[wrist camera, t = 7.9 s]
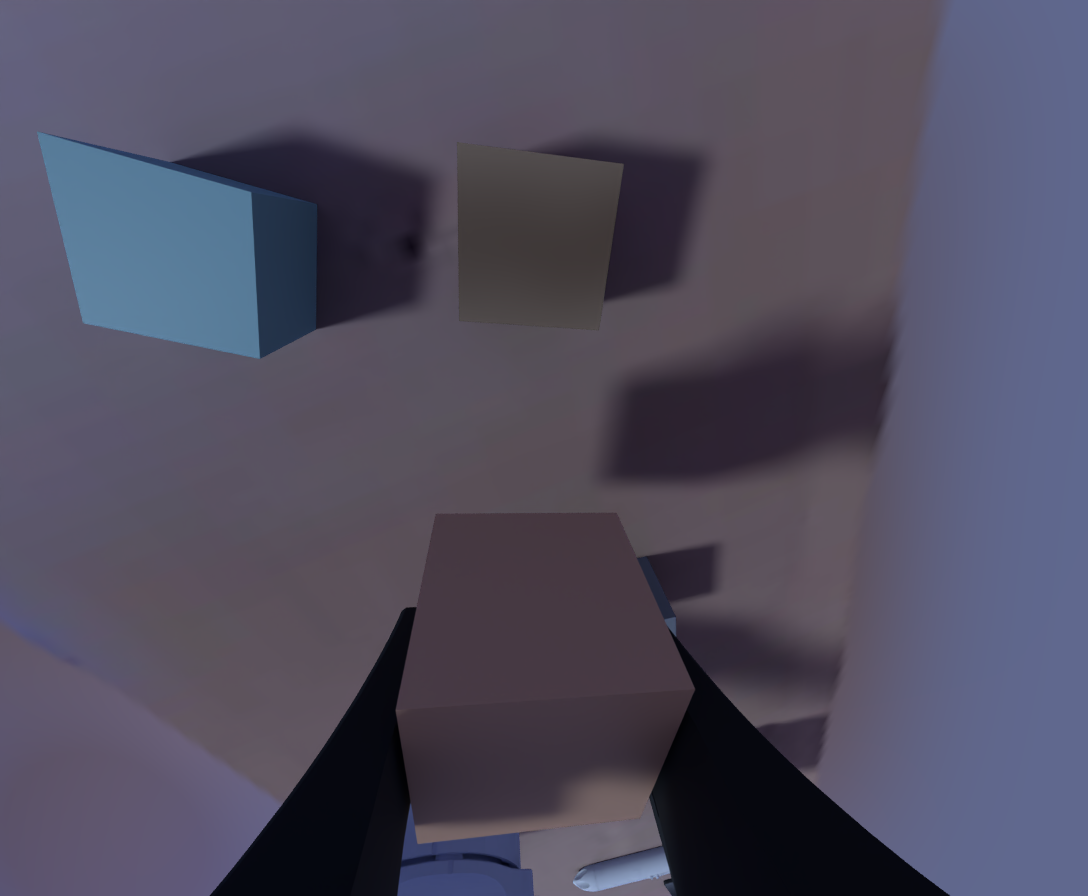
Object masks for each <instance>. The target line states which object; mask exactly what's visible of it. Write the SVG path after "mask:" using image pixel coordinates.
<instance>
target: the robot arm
mask: <svg viewBox="0 0 1088 896" xmlns="http://www.w3.org/2000/svg"><path fill="white" fill-rule="evenodd" d="M416 608H417V607H410V608H405V609H404V610H402V612H401V614H400V616H399V619H398V621H397V623H396V625H395V627H394V629H393V631H392V633H391V635H390V637H389V639H388V641H387V643H386V645H385V647H384V649H383V651H382V652H381V654H380V656H379V658H378V660H377V662H376V663H375V665H374V667H373V669H372V670H371V672H370V674H369V675H368V677H367V679H366V681H365V682H364V684H363V686H362V687H361V689H360V691H359V693H358V694H357V696H356V698H355V699H354V701H353V702H352V704H351V706H350V707H349V709H348V710H347V712H346V713H345V715H344V716H343V718H342V719H341V721H340V723H339V724H338V726H337V727H336V729H335V730H334V732H333V733H332V735H331V736H330V738H329V739H328V741H327V743H326V744H325V745H324V747H323V748H322V750H321V751H320V753H319V754H318V756H317V757H316V759H315V760H314V761H313V763H312V764H311V766H310V767H309V769H308V770H307V771H306V773H305V774H304V776H303V777H302V778H301V780H300V781H299V782H298V784H297V785H296V787H295V788H294V789H293V791H292V792H291V793H290V795H289V796H288V798H287V799H286V800H285V802H284V803H283V804H282V806H281V807H280V808H279V810H278V811H277V812H276V813H275V815H274V816H273V817H272V819H271V820H270V821H269V822H268V824H267V825H266V826H265V828H264V829H263V830H262V832H261V833H260V834H259V836H258V837H257V838H256V839H255V841H254V842H253V843H252V845H251V846H250V847H249V848H248V850H247V851H246V852H245V853H244V855H243V856H242V857H241V859H240V860H239V861H238V862H237V863H236V865H235V866H234V867H233V868H232V870H231V871H230V872H229V873H228V875H227V876H226V877H225V878H224V879H223V881H222V882H221V883H220V884H219V886H217V888H216V889H215V890H214V891H213V892H212V894H211V895H210V896H534V891H533V875H532V870H531V869H521V863H520V840H519V832H518V833H510V834H501V835H492V836H484V837H475V838H466V839H458V840H449V841H440V842H432V843H423V844H417V838H416V832H415V825H414V819H413V813H412V807H411V801H410V795H409V789H408V783H407V777H406V770H405V764H404V758H403V752H402V746H401V740H400V734H399V728H398V722H397V716H396V706H397V701H398V696H399V691H400V686H401V682H402V677H403V672H404V667H405V662H406V657H407V652H408V647H409V643H410V638H411V633H412V628H413V623H414V618H415V613H416ZM667 627H668V626H667ZM668 629H669V627H668ZM669 631H670V634H671V636H672V638H673V640H674V643H675V645H676V647H677V649H678V652H679V654H680V656H681V658H682V661H683V663H684V665H685V667H686V670H687V672H688V674H689V676H690V679H691V681H692V683H693V685H694V688H695V691H694V693H693V695H692V698H691V700H690V703H689V705H688V707H687V710H686V712H685V714H684V717H683V719H682V721H681V724H680V726H679V728H678V731H677V733H676V735H675V738H674V740H673V742H672V745H671V747H670V749H669V752H668V754H667V757H666V759H665V761H664V764H663V766H662V768H661V771H660V773H659V775H658V778H657V780H656V782H655V785H654V787H653V789H652V792H653V796H654V799H655V803H656V806H657V810H658V814H659V818H660V823H661V827H662V831H663V835H664V840H665V844H666V848H667V853H668V857H669V861H670V866H671V870H672V875H673V880H674V884H675V889H676V893H677V896H950V895H948V894H947V893H946V892H944V891H943V890H942V889H940V888H939V887H938V886H936V885H935V884H934V883H932V882H931V881H930V880H928V879H927V878H926V877H924V876H923V875H922V874H920V873H919V872H918V871H917V870H915V869H914V868H912V867H911V866H910V865H909V864H908V863H906V862H905V861H904V860H903V859H901V858H900V857H899V856H898V855H896V854H895V853H894V852H893V851H892V850H890V849H889V848H888V847H886V846H885V845H884V844H883V843H882V842H880V841H879V840H878V839H877V838H876V837H874V836H873V835H872V834H871V833H869V832H868V831H867V830H866V829H864V828H863V827H862V826H861V825H860V824H859V823H858V822H857V821H855V820H854V819H853V818H852V817H851V816H850V815H849V814H847V813H846V812H845V811H844V810H843V809H842V808H840V807H839V806H838V805H837V804H836V803H835V802H833V801H832V800H831V799H830V798H829V797H828V796H827V795H825V794H824V793H823V792H822V791H821V790H820V789H819V788H817V787H816V786H815V785H814V784H813V783H812V782H811V781H810V780H809V779H807V778H806V777H805V776H804V775H803V774H802V773H801V772H800V771H799V770H798V769H797V768H796V767H795V766H794V765H793V764H792V763H790V762H789V761H788V760H787V759H786V758H785V757H784V756H783V755H782V754H781V753H780V752H779V751H778V750H777V749H776V748H775V747H774V746H773V745H772V744H771V743H770V742H769V741H768V740H767V739H766V738H765V737H764V736H763V735H762V734H761V733H760V732H759V731H758V730H757V729H756V728H755V727H754V726H753V725H752V724H751V723H750V722H749V721H748V720H747V719H746V718H745V717H744V715H743V714H742V713H741V712H740V711H739V710H738V709H737V708H736V707H735V706H734V705H733V703H732V702H731V701H730V700H729V699H728V698H727V697H726V696H725V695H724V694H723V692H722V691H721V690H720V689H719V688H718V687H717V686H716V684H715V683H714V682H713V681H712V680H711V679H710V678H709V676H708V675H707V674H706V673H705V672H704V670H703V669H702V668H701V667H700V666H699V664H698V663H697V662H696V661H695V660H694V659H693V657H692V656H691V655H690V654H689V652H688V651H687V650H686V649H685V648H684V646H683V645H682V644H681V643H680V641H679V640H678V639H677V637H676V636H675V635H674V634H673V632H672V631H671V630H670V629H669Z"/></svg>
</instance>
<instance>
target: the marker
mask: <svg viewBox="0 0 1088 896" xmlns="http://www.w3.org/2000/svg"><path fill="white" fill-rule="evenodd" d="M669 873H670V870H669V867H668V863H667V859H666V856H665V852H664V849H663V846H661V847H657V848H653V849H649V850H645V851H641V852H638V853H634V854H630V855H626V856H622V857H618V858H614V859H610V860H607V861H603V862H599V863H595V864H594V865H593V864H591V865H588V866H586V867H584V868H582V869H581V870H580V871H579V872H578V874H577V875H576V876H575V878H574V880H573V883H574V884H575V885H576V886H577V887H579V888H580V889H582V890H585V891H591V892H595V891H600V890H605V889H608V888H612V887H616V886H620V885H624V884H628V883H632V882H635V881H640V880H643V879H647V878H650V879H652V878H653V877H656V878H657V879H658V878H659V876H662V875H665V874H669ZM661 878H662V877H661ZM652 880H653V879H652Z"/></svg>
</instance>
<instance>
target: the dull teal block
mask: <svg viewBox="0 0 1088 896" xmlns="http://www.w3.org/2000/svg"><path fill="white" fill-rule="evenodd" d="M37 133H38V138H39V142H40V146H41V150H42V154H43V158H44V162H45V167H46V171H47V175H48V179H49V183H50V187H51V191H52V196H53V200H54V204H55V208H56V212H57V216H58V220H59V225H60V229H61V233H62V237H63V241H64V245H65V249H66V254H67V258H68V262H69V266H70V270H71V274H72V278H73V283H74V287H75V291H76V295H77V299H78V303H79V307H80V312H81V316H82V320H83V323H86V324H91V325H96V326H100V327H105V328H110V329H115V330H120V331H125V332H130V333H135V334H140V335H145V336H150V337H155V338H160V339H165V340H170V341H174V342H179V343H184V344H189V345H194V346H199V347H204V348H209V349H214V350H219V351H224V352H229V353H234V354H239V355H244V356H248V357H253V358H258V359H261V358H262V357H264V356H266V355H268V354H270V353H272V352H274V351H276V350H278V349H280V348H282V347H283V346H285V345H287V344H289V343H291V342H293V341H295V340H297V339H299V338H301V337H303V336H304V335H306V334H308V333H310V332H312V331H314V330H316V282H317V204H315V203H311V202H308V201H304V200H301V199H297V198H294V197H290V196H287V195H283V194H280V193H276V192H273V191H269V190H266V189H262V188H259V187H255V186H252V185H248V184H245V183H241V182H238V181H234V180H231V179H227V178H224V177H220V176H217V175H213V174H210V173H206V172H203V171H199V170H196V169H192V168H189V167H185V166H182V165H178V164H175V163H171V162H167V161H163V160H159V159H154V158H150V157H146V156H141V155H137V154H132V153H128V152H124V151H119V150H115V149H111V148H106V147H102V146H98V145H93V144H89V143H85V142H80V141H76V140H71V139H67V138H63V137H58V136H54V135H50V134H45V133H41V132H37Z"/></svg>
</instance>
